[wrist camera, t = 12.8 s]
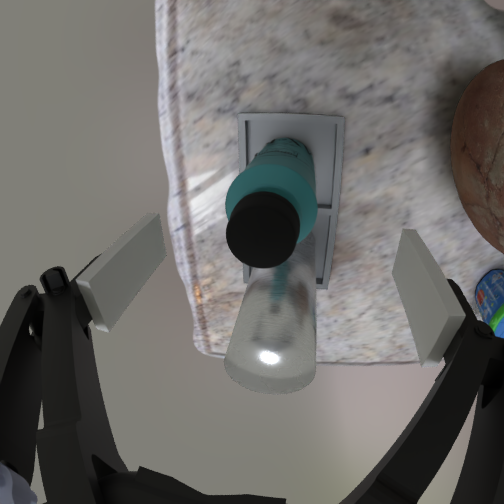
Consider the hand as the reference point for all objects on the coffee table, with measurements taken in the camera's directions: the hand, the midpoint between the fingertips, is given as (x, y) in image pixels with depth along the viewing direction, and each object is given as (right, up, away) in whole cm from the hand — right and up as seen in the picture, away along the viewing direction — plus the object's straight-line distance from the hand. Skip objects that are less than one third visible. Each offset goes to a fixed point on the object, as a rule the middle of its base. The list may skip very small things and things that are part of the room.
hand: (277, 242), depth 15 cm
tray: (+4, +6, +21) cm, 22 cm away
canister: (+3, 0, +23) cm, 23 cm away
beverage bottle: (+3, +10, +18) cm, 20 cm away
